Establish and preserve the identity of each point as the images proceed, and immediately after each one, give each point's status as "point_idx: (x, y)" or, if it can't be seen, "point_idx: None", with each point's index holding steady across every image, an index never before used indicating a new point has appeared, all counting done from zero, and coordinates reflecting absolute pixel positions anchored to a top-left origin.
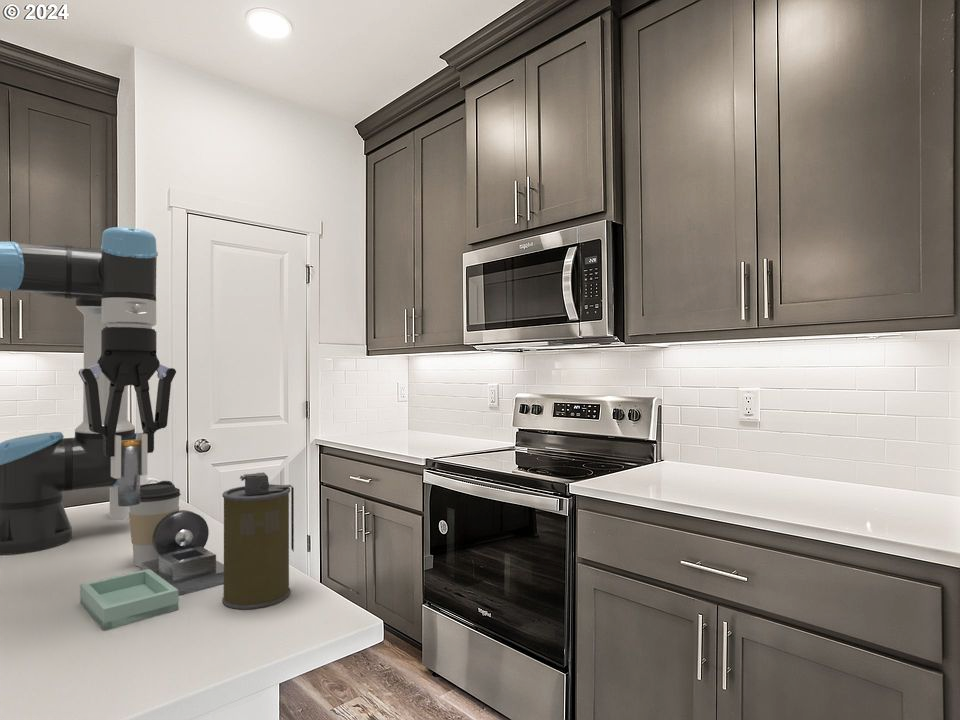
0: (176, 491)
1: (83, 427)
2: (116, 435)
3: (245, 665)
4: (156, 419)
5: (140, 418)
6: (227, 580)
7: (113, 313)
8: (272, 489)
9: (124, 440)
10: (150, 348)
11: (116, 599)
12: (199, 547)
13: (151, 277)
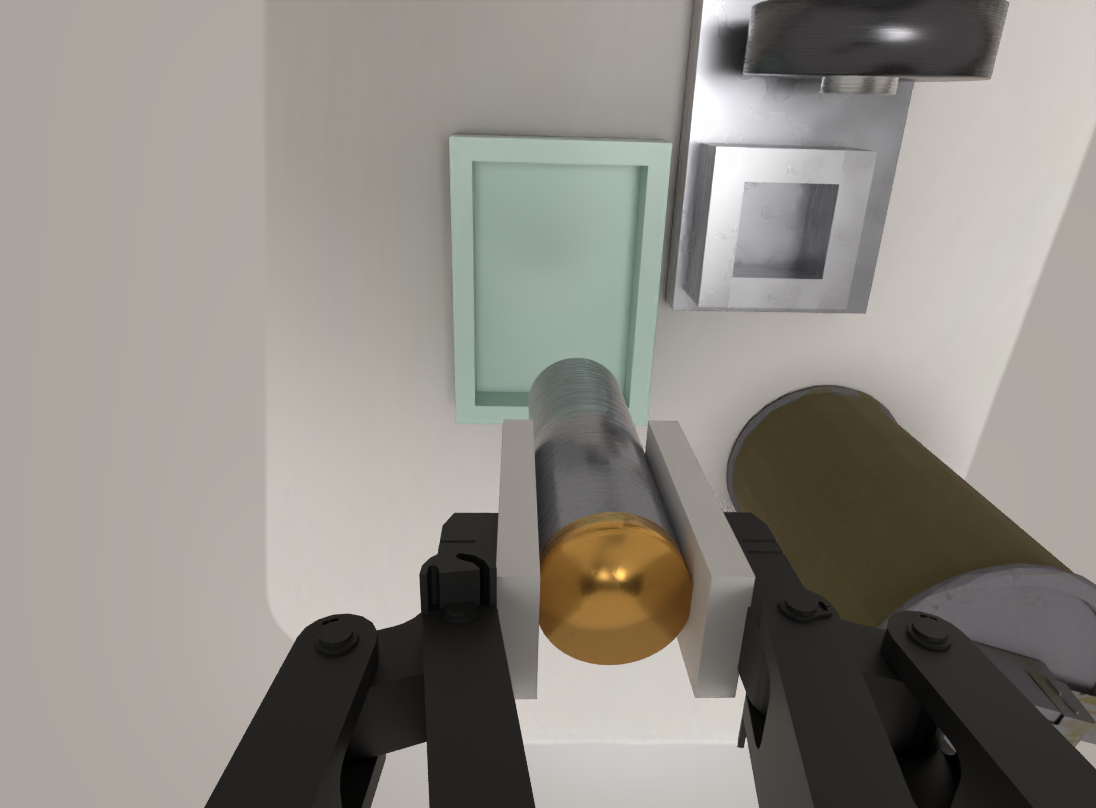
0: None
1: None
2: (519, 644)
3: (607, 724)
4: (921, 693)
5: (781, 693)
6: (750, 506)
7: None
8: (1077, 651)
9: (596, 555)
10: None
11: (530, 251)
12: (864, 167)
13: None
